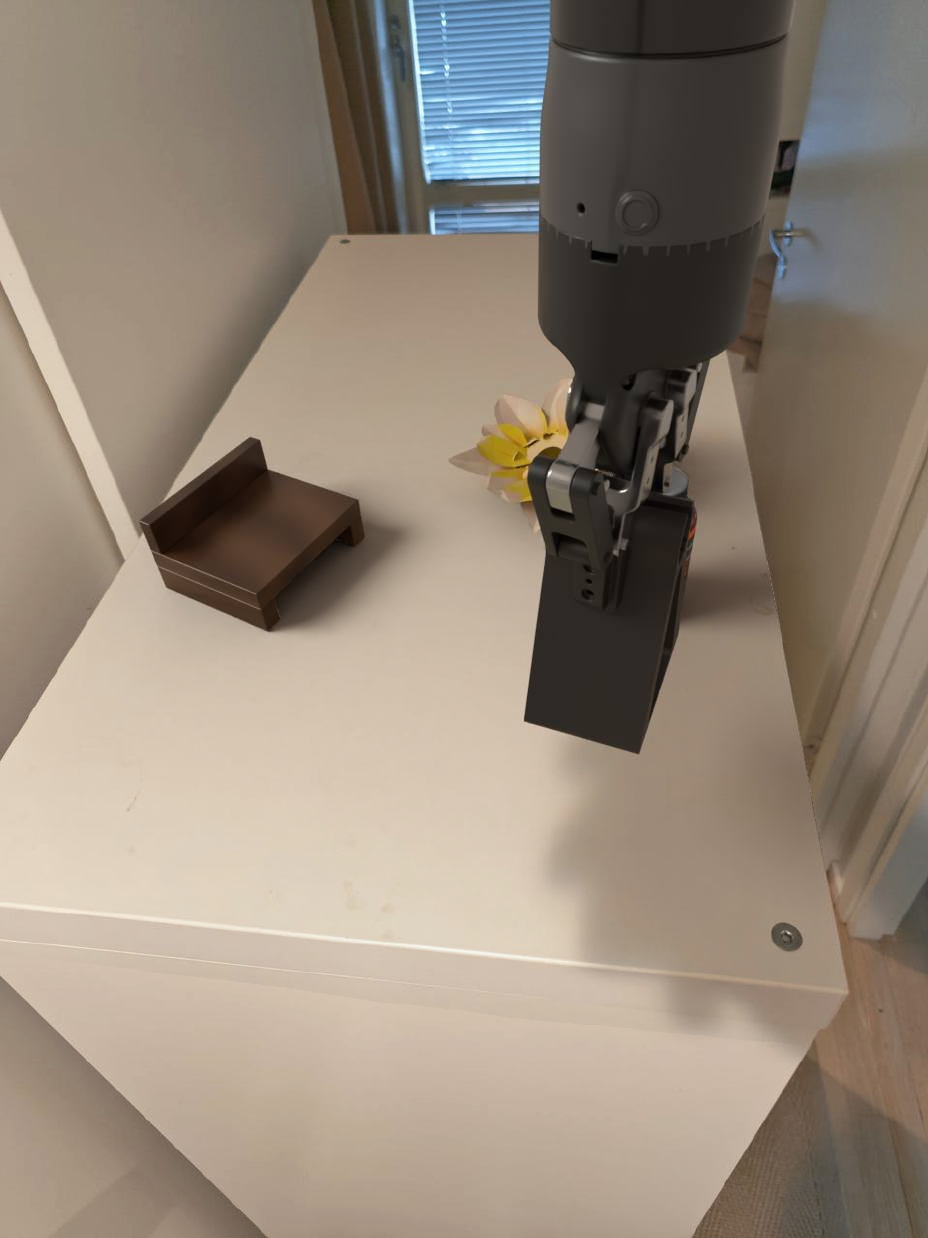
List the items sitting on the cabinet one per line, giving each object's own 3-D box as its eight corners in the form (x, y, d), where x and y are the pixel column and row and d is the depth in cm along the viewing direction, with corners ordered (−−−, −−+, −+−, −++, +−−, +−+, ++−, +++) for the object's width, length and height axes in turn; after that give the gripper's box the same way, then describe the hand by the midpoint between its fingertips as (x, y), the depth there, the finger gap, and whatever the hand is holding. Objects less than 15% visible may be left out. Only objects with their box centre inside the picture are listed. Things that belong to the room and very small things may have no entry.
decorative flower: (424, 458, 78) (443, 356, 71) (522, 442, 83) (548, 346, 77) (516, 554, 69) (546, 447, 63) (618, 529, 75) (656, 429, 68)
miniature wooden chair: (268, 632, 65) (246, 563, 60) (165, 587, 70) (138, 520, 65) (365, 536, 73) (353, 468, 68) (267, 502, 77) (249, 436, 72)
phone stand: (576, 609, 49) (586, 430, 41) (679, 635, 47) (712, 452, 39) (522, 724, 43) (521, 542, 35) (637, 758, 41) (665, 574, 33)
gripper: (629, 125, 34) (602, 480, 46) (445, 252, 26) (470, 646, 38) (821, 145, 31) (738, 519, 43) (684, 296, 23) (628, 709, 35)
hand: (613, 577), depth 40 cm, fingers closed on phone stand, 3 cm apart
